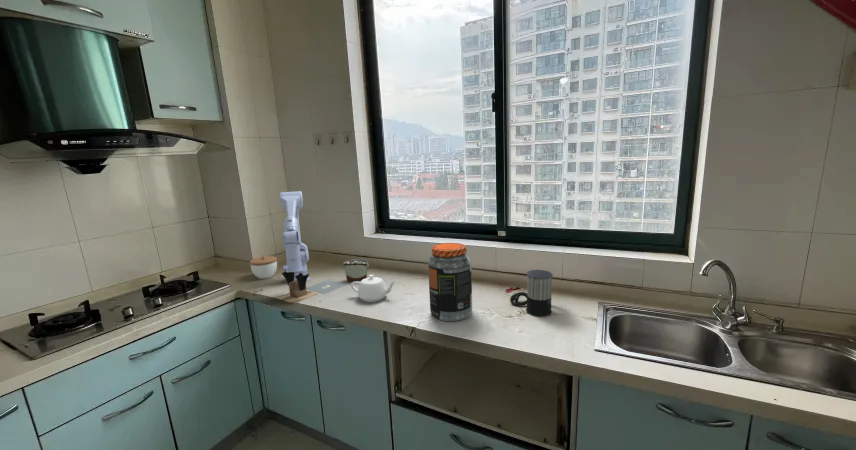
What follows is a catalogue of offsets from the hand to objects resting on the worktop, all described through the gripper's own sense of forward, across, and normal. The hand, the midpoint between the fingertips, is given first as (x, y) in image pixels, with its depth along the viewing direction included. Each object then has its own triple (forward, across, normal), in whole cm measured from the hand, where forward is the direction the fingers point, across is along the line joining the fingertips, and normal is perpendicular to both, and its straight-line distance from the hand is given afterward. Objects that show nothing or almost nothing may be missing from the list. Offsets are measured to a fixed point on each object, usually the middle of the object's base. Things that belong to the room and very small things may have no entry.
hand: (296, 288), depth 157 cm
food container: (+4, +9, +28) cm, 30 cm away
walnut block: (+3, 0, 0) cm, 3 cm away
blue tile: (+4, +2, +14) cm, 15 cm away
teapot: (+4, +31, +15) cm, 35 cm away
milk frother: (+4, +91, +37) cm, 98 cm away
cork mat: (+4, 0, 0) cm, 4 cm away
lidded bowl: (+4, -39, +9) cm, 40 cm away
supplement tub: (+4, +67, +18) cm, 69 cm away
